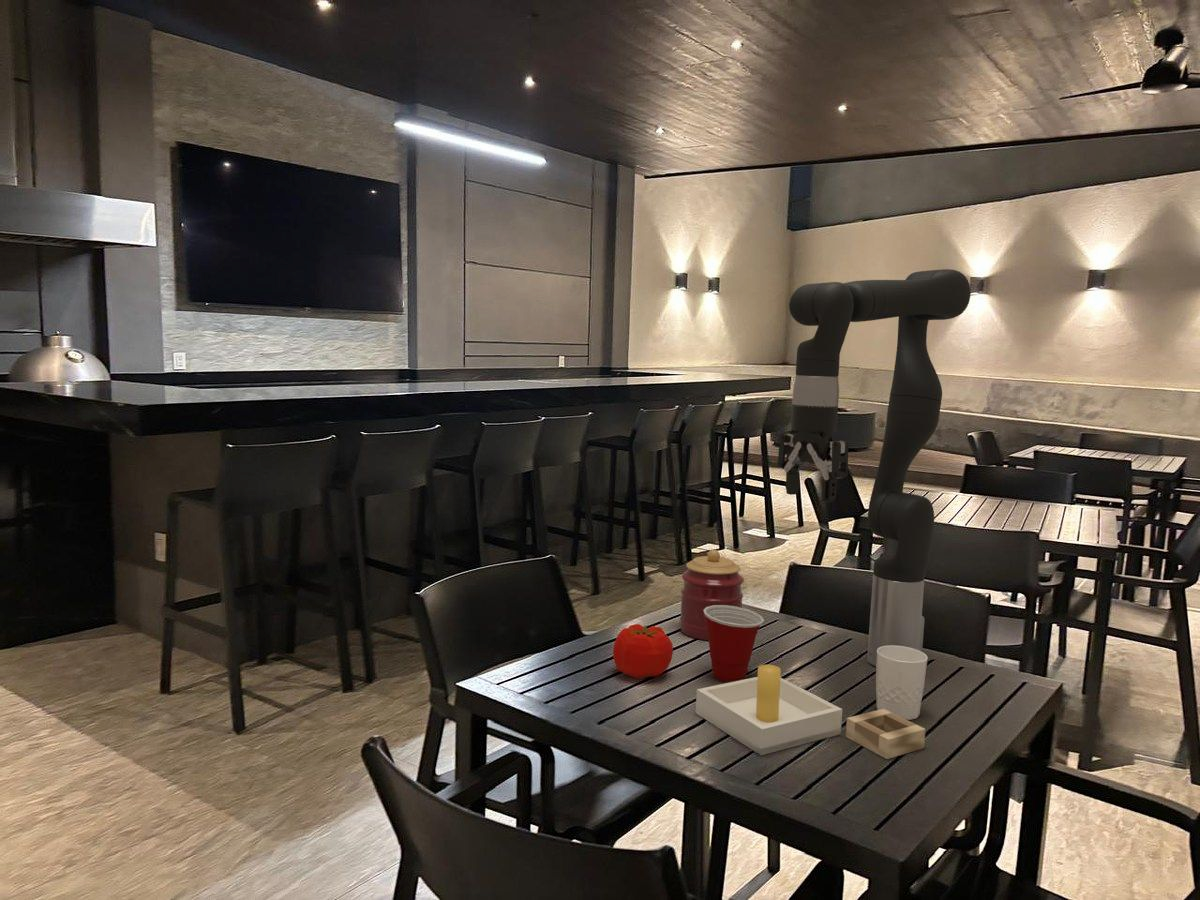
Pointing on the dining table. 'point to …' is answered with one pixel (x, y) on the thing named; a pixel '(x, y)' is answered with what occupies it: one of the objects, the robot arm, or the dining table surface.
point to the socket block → (885, 733)
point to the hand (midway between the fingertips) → (809, 498)
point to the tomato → (642, 651)
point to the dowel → (768, 693)
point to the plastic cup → (731, 640)
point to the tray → (795, 725)
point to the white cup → (900, 680)
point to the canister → (708, 591)
